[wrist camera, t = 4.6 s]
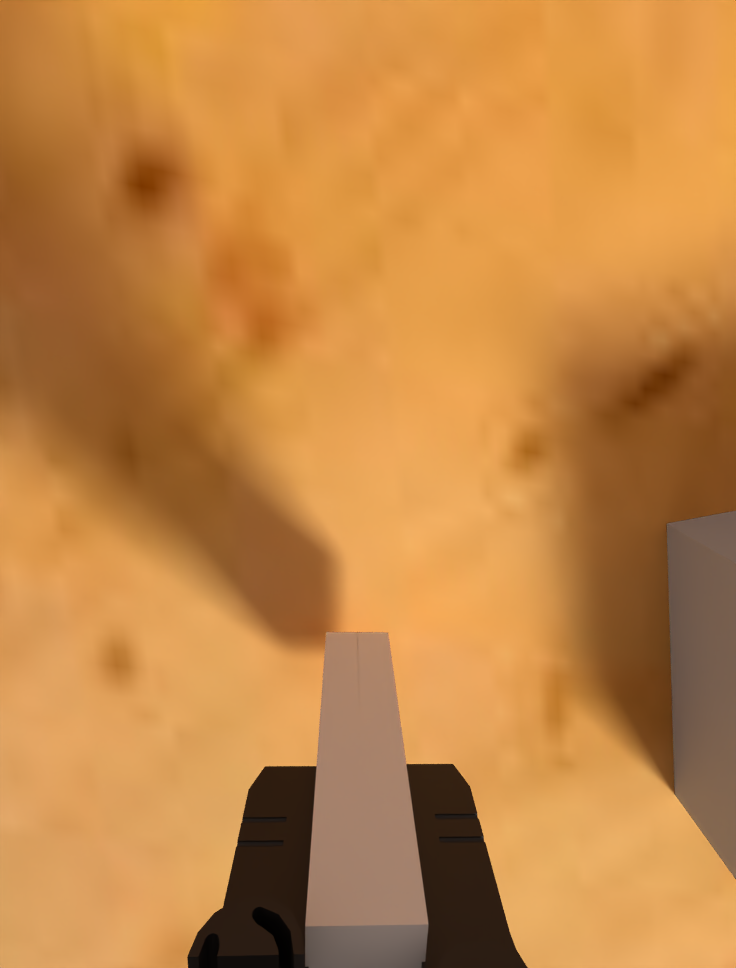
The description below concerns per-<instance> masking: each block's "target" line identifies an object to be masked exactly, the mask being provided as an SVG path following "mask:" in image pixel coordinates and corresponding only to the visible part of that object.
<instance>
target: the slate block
mask: <svg viewBox="0 0 736 968" xmlns="http://www.w3.org/2000/svg"><path fill="white" fill-rule="evenodd" d="M667 552H668V586H669V620H670V654H671V688H672V722H673V756H674V790H675V795H676V797H677V798H678V799H679V801H680V802H681V804H682V805H683V806H684V808H685V809H686V811H687V812H688V813H689V815H690V816H691V818H692V819H693V820H694V822H695V823H696V825H697V826H698V827H699V829H700V830H701V832H702V833H703V834H704V836H705V837H706V838H707V840H708V841H709V843H710V844H711V845H712V847H713V848H714V850H715V851H716V852H717V854H718V855H719V857H720V858H721V859H722V861H723V862H724V864H725V865H726V866H727V868H728V869H729V871H730V872H731V873H732V875H733V876H734V878H735V879H736V511H731V512H726V513H720V514H715V515H710V516H704V517H699V518H693V519H688V520H683V521H677V522H672V523H667Z"/></svg>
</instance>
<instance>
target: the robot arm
mask: <svg viewBox="0 0 736 968" xmlns="http://www.w3.org/2000/svg"><path fill="white" fill-rule="evenodd" d="M483 837H484V836H483V833H482V829H481V825H480V822H479V819H478V817H477V811H476V807H475V803H474V800H473V796H472V792H471V789H470V786H469V785H468V783H467V782H466V781H465V779H464V778H463V777H462V775H461V774H460V773H459V772H458V770H457V769H456V768H455V766H454V765H453V764H406V758H405V751H404V744H403V737H402V729H401V722H400V715H399V708H398V700H397V693H396V686H395V679H394V671H393V664H392V657H391V650H390V643H389V635H388V633H384V632H326V641H325V655H324V669H323V684H322V698H321V712H320V726H319V740H318V754H317V766H269V767H264V769H263V770H262V772H261V773H260V774H259V776H258V777H257V779H256V780H255V781H254V783H253V784H252V786H251V787H250V789H249V791H248V795H247V800H246V805H245V809H244V814H243V821H242V823H241V828H240V832H239V837H238V844H237V847H236V851H235V855H234V860H233V864H232V869H231V874H230V878H229V883H228V887H227V892H226V897H225V901H224V906H223V908H222V909H220V910H219V911H217V912H215V913H214V914H213V915H212V917H211V918H210V919H209V920H208V921H207V922H206V924H205V925H204V926H203V927H202V928H201V929H200V931H199V932H198V933H197V936H196V938H195V940H194V943H193V945H192V947H191V950H190V952H189V954H188V957H187V958H188V968H528V967H527V966H526V965H525V963H524V961H523V960H522V958H521V957H520V955H519V953H518V952H517V950H516V948H515V945H514V943H513V940H512V937H511V935H510V932H509V928H508V924H507V921H506V917H505V913H504V910H503V906H502V902H501V899H500V895H499V891H498V888H497V884H496V880H495V877H494V873H493V869H492V866H491V862H490V858H489V855H488V851H487V847H486V844H485V842H484V838H483Z"/></svg>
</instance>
